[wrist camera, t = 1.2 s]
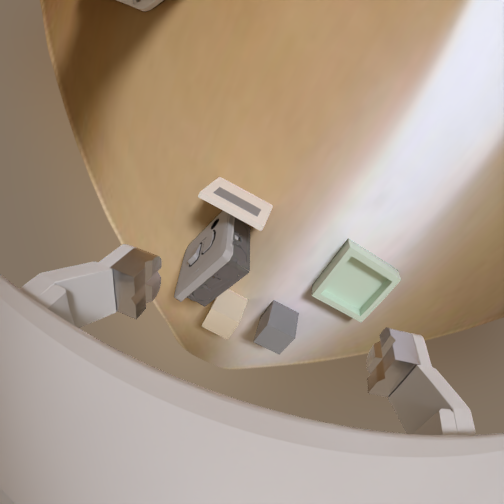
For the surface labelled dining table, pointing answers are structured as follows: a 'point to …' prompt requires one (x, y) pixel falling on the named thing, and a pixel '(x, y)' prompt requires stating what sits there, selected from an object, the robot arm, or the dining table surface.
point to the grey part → (276, 327)
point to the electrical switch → (214, 260)
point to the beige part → (225, 313)
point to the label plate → (237, 202)
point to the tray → (355, 281)
